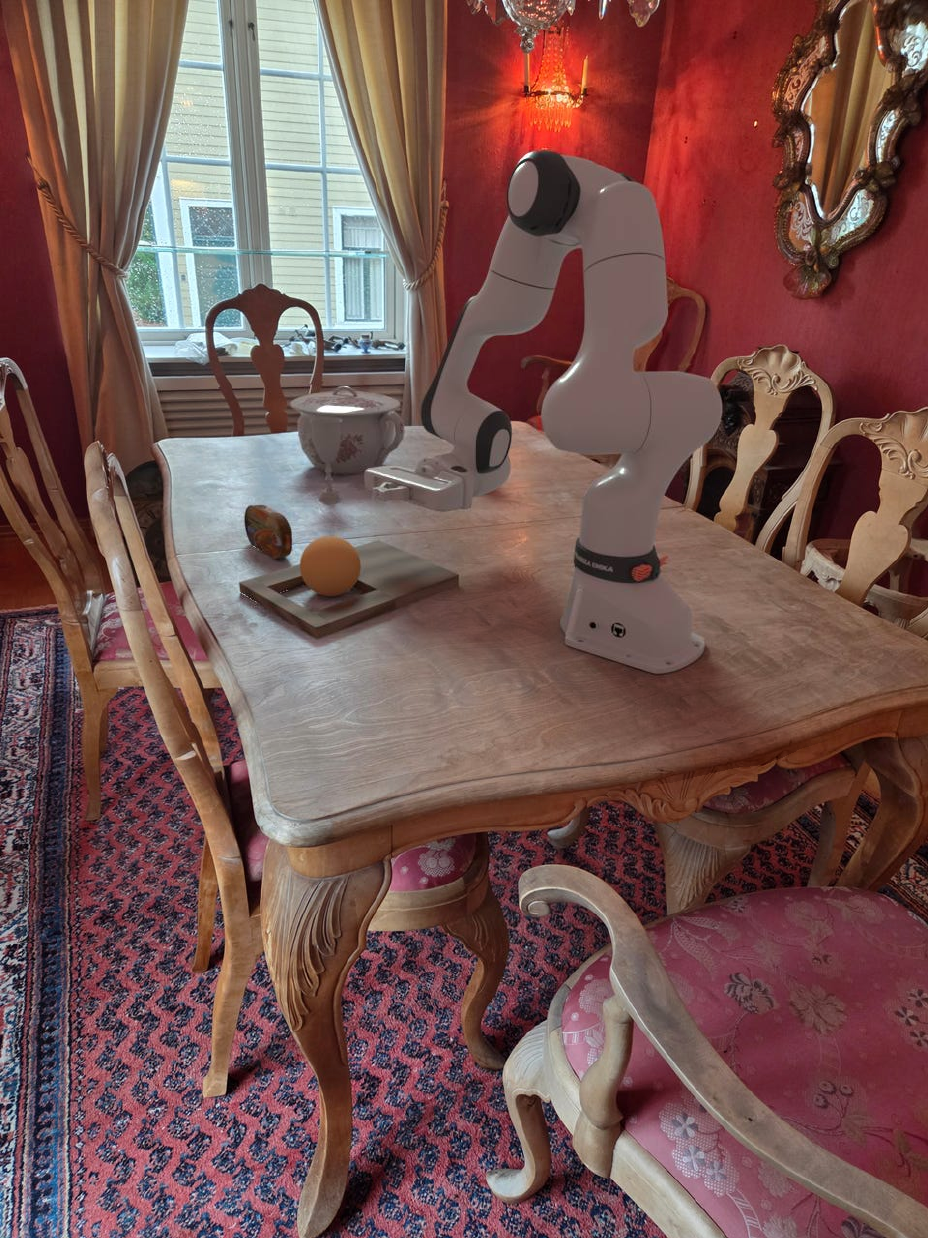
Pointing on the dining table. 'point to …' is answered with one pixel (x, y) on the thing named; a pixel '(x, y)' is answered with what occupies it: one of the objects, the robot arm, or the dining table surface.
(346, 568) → the ball
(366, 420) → the chamber pot
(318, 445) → the chalice
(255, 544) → the tin
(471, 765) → the dining table surface
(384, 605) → the board
